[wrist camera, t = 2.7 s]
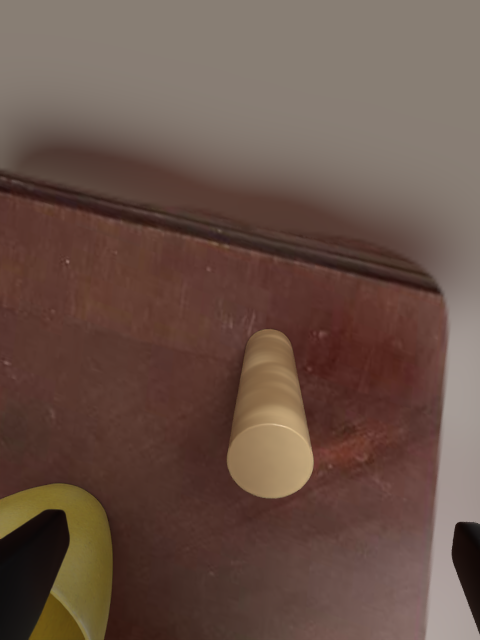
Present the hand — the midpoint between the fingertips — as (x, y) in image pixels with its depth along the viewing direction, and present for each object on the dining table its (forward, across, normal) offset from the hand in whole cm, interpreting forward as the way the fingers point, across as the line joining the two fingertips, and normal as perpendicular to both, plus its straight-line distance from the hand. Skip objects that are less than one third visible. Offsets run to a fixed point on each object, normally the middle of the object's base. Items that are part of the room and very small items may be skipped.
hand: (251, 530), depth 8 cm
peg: (+11, 0, 0) cm, 11 cm away
